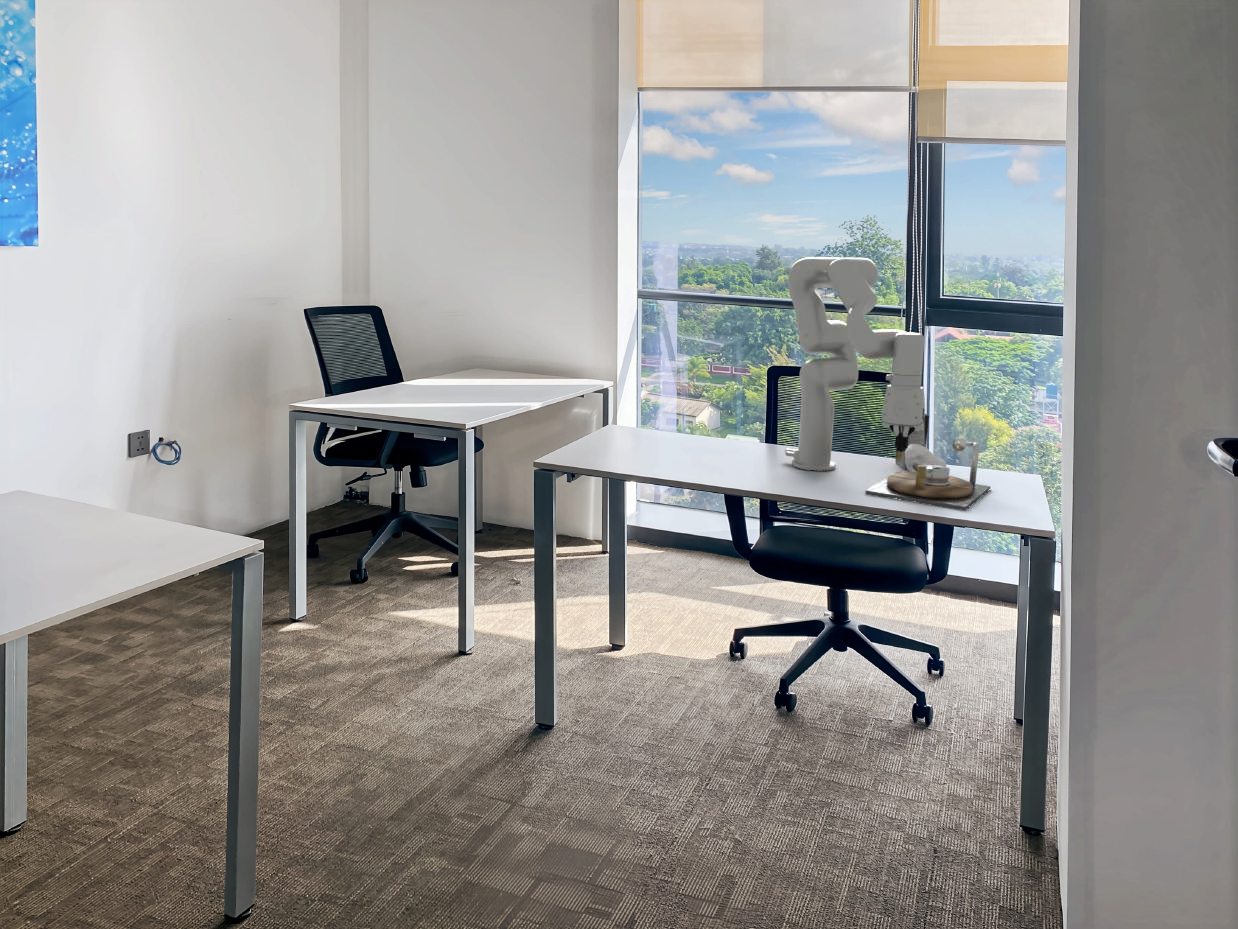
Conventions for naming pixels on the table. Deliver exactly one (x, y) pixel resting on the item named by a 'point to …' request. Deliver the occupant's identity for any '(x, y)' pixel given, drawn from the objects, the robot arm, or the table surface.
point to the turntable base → (954, 503)
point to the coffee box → (913, 442)
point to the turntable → (916, 485)
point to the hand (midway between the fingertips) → (901, 450)
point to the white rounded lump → (920, 457)
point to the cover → (937, 475)
